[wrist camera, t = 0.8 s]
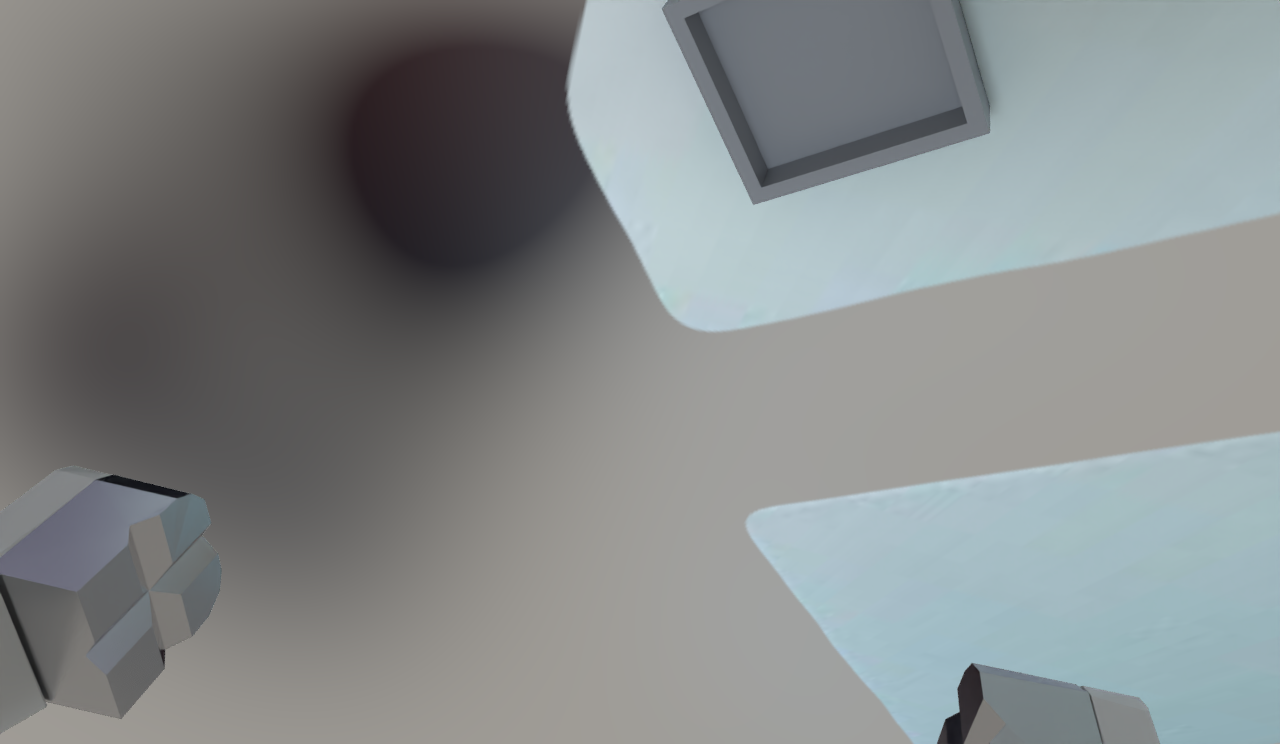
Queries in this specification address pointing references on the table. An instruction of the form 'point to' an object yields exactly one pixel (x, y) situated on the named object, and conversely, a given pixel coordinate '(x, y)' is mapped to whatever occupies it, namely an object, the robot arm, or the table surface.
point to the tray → (830, 83)
